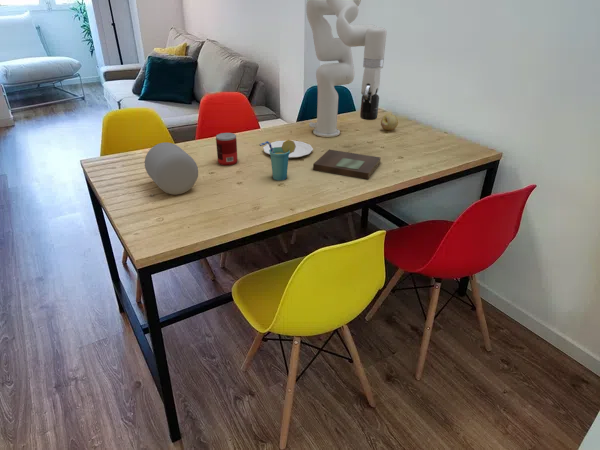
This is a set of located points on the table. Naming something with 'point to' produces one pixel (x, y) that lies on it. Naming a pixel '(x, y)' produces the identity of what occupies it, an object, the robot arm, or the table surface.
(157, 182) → the grey rounded cylinder
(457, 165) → the table surface
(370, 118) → the supplement bottle
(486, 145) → the table surface
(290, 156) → the plate
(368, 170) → the walnut board
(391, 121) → the fruit
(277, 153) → the cup
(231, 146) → the canned food
